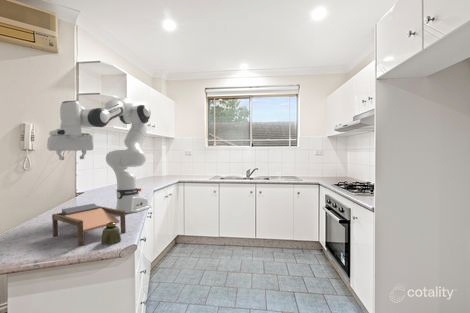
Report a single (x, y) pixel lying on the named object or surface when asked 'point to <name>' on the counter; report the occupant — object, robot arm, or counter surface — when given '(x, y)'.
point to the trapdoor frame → (79, 223)
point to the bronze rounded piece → (110, 234)
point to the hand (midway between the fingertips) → (72, 159)
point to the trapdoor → (90, 216)
